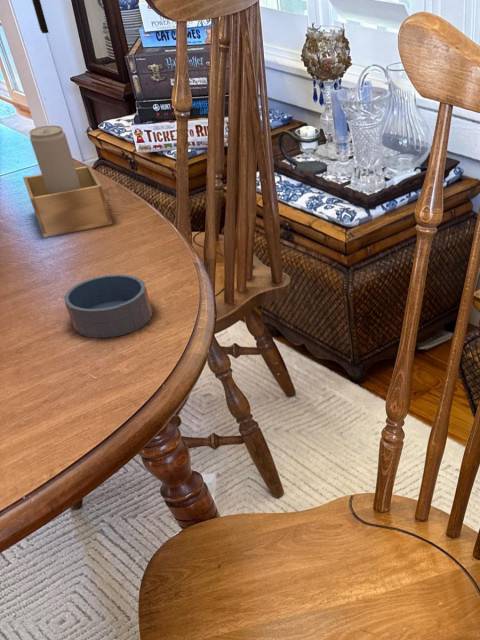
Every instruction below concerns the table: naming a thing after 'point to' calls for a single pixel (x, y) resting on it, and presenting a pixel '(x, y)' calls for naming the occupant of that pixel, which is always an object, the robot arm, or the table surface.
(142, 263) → the table surface
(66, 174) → the beverage can
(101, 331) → the dish
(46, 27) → the robot arm
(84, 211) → the box
